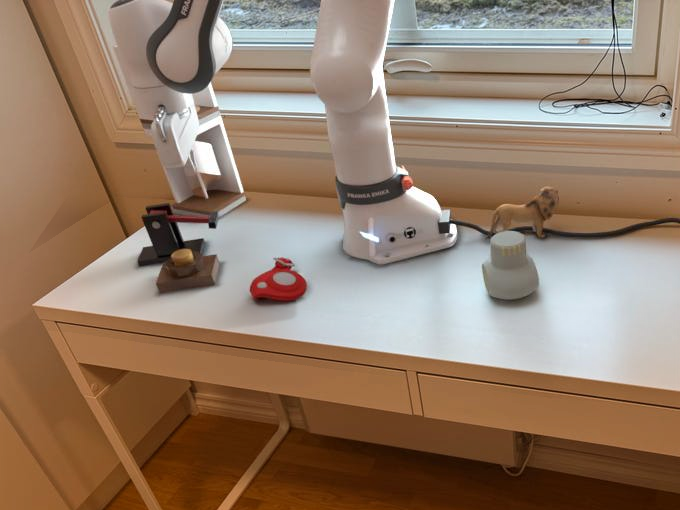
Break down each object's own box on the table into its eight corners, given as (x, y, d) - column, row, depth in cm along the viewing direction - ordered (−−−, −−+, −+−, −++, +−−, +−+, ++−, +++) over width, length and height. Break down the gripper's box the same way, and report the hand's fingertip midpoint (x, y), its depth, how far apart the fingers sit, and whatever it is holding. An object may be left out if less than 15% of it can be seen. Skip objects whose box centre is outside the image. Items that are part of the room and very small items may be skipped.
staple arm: (219, 220, 140) (217, 208, 138) (216, 231, 136) (215, 219, 135) (154, 218, 137) (152, 206, 136) (149, 229, 133) (147, 218, 132)
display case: (175, 213, 155) (112, 46, 134) (209, 193, 163) (154, 32, 141) (213, 220, 151) (155, 49, 129) (246, 200, 158) (196, 34, 137)
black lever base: (205, 243, 143) (189, 198, 137) (201, 257, 138) (185, 211, 132) (145, 252, 142) (126, 207, 136) (139, 266, 137) (119, 221, 131)
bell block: (220, 264, 135) (213, 245, 133) (215, 285, 129) (208, 266, 127) (167, 272, 134) (159, 253, 132) (159, 293, 128) (151, 274, 126)
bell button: (195, 255, 131) (192, 247, 130) (192, 265, 128) (189, 256, 127) (176, 258, 131) (172, 250, 130) (172, 268, 128) (169, 259, 127)
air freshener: (542, 303, 116) (540, 250, 110) (493, 311, 115) (489, 258, 109) (526, 270, 125) (524, 220, 119) (481, 278, 124) (477, 227, 118)
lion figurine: (554, 223, 138) (554, 180, 133) (563, 235, 134) (563, 191, 129) (482, 235, 136) (479, 192, 131) (489, 248, 132) (485, 204, 127)
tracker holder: (316, 288, 123) (260, 296, 118) (314, 307, 126) (259, 316, 121) (291, 248, 130) (237, 254, 124) (289, 267, 133) (236, 274, 127)
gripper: (173, 113, 114) (202, 192, 122) (191, 78, 130) (215, 150, 138) (134, 119, 113) (165, 198, 122) (157, 83, 129) (183, 155, 138)
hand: (192, 172), depth 130 cm, fingers closed
